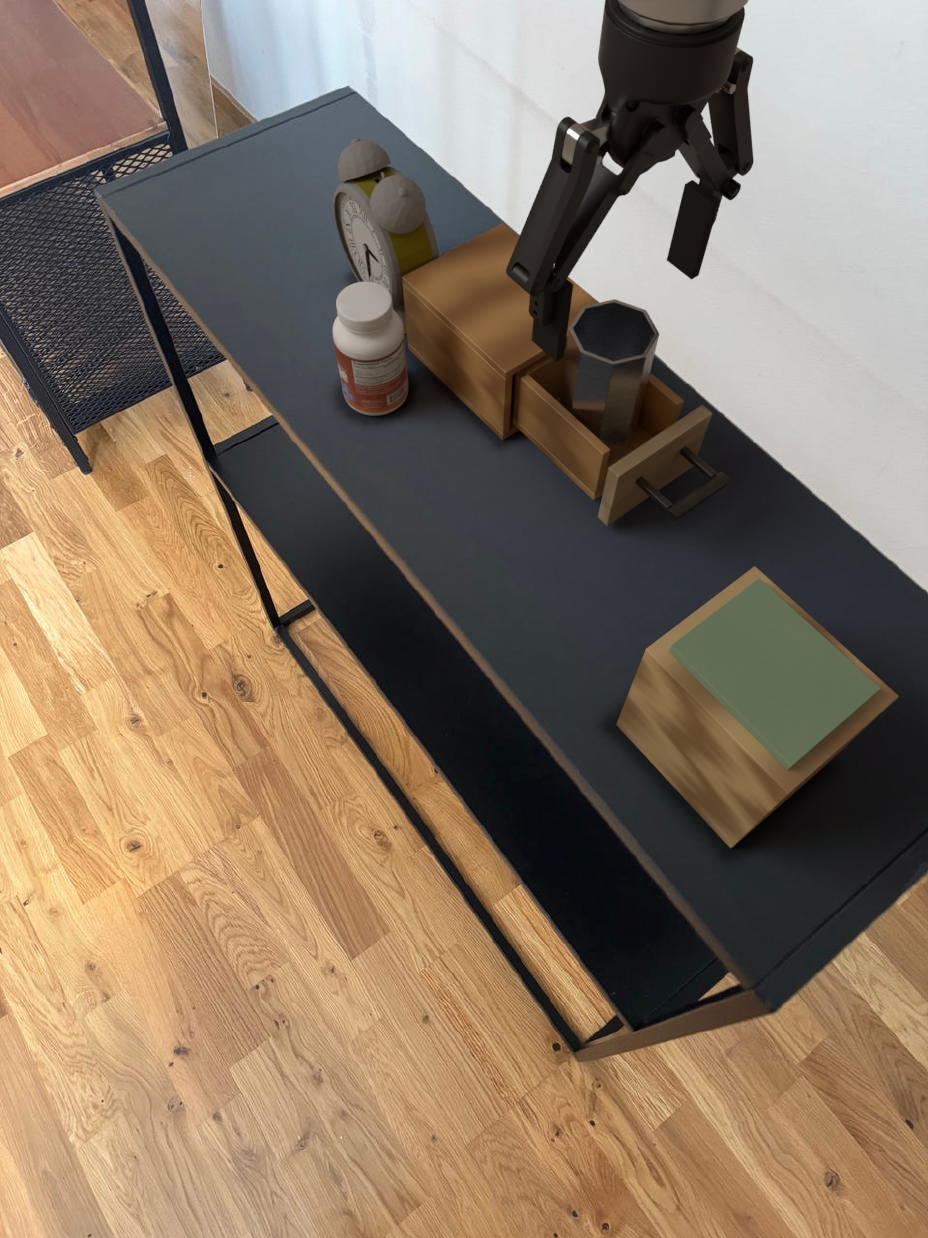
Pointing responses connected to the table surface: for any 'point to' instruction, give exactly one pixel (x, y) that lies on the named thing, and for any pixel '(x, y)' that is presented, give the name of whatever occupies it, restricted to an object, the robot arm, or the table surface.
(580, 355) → the metal cup
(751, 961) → the table surface
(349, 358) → the pill bottle
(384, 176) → the alarm clock
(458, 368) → the cabinet
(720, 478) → the drawer
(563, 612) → the table surface
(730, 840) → the stand
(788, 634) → the mat
